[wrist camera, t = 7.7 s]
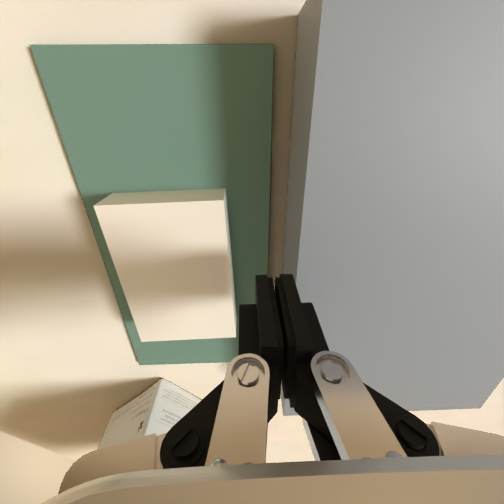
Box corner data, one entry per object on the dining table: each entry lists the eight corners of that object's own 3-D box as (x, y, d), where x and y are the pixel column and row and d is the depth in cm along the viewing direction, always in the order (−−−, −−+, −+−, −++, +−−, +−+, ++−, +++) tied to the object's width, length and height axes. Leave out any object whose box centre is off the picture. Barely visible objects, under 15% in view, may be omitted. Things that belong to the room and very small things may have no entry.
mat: (34, 46, 11) (29, 44, 10) (272, 45, 11) (273, 44, 11) (140, 361, 21) (139, 365, 20) (264, 357, 21) (265, 360, 21)
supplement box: (161, 374, 22) (77, 654, 11) (224, 410, 24) (208, 659, 13) (110, 410, 24) (-4, 670, 13) (173, 438, 27) (124, 671, 16)
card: (223, 200, 12) (226, 188, 14) (93, 205, 12) (112, 193, 14) (235, 337, 16) (236, 315, 18) (141, 341, 16) (151, 319, 18)
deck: (298, 14, 11) (325, -32, 7) (627, 14, 11) (809, -29, 7) (276, 365, 21) (283, 415, 18) (441, 359, 22) (480, 408, 18)
